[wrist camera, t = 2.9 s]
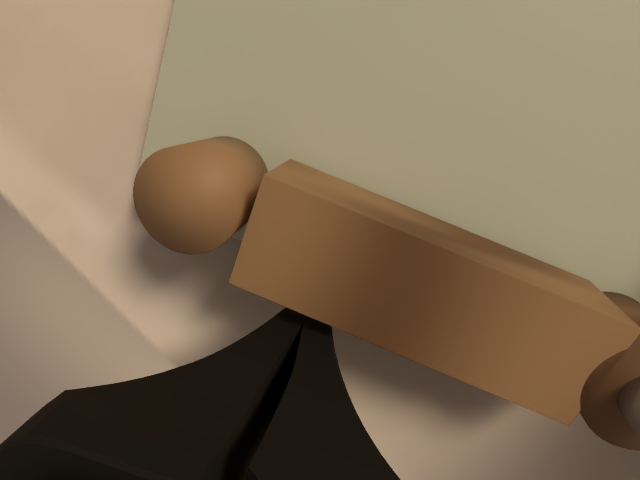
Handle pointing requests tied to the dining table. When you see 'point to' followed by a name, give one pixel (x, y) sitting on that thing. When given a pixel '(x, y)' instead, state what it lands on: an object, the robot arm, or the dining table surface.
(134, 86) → the dining table surface
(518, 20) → the seat board
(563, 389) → the folding leg
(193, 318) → the dining table surface
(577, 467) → the dining table surface
